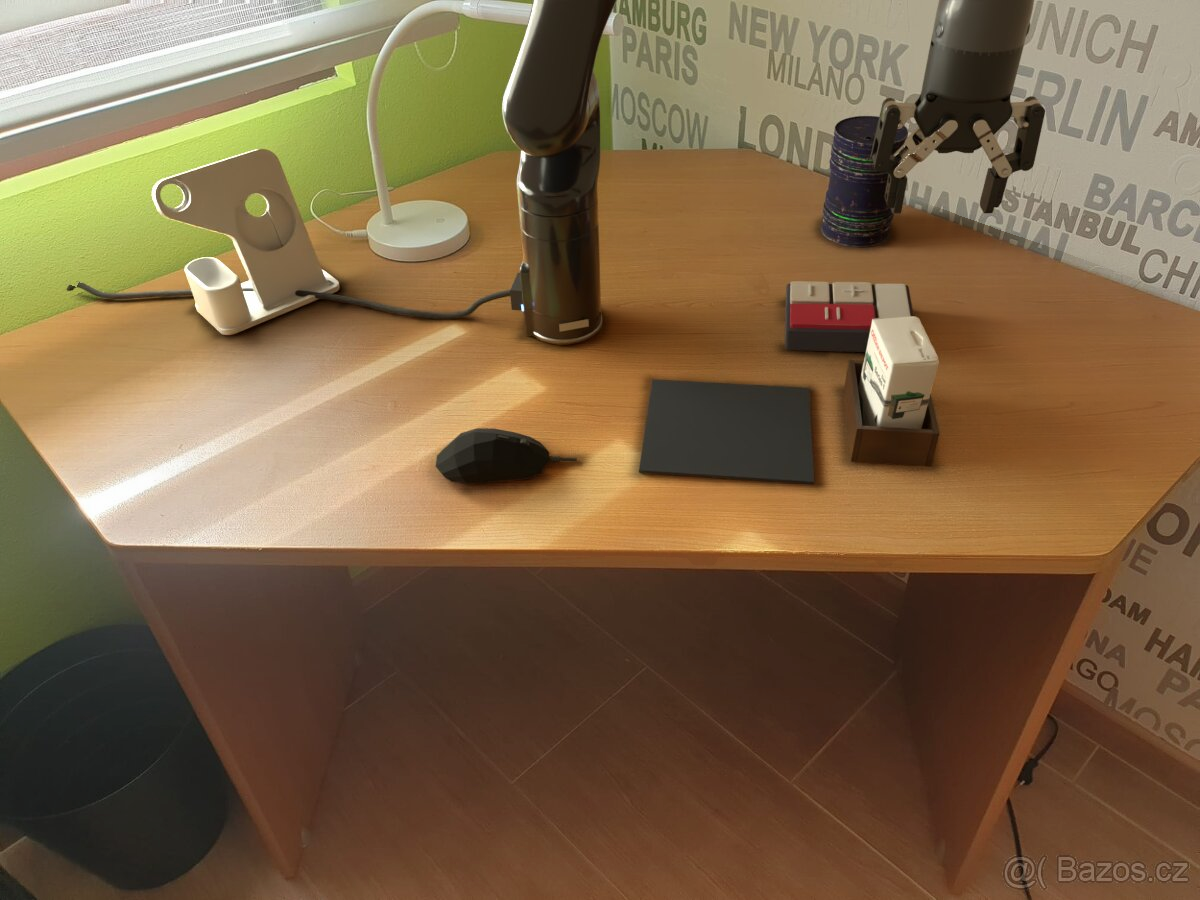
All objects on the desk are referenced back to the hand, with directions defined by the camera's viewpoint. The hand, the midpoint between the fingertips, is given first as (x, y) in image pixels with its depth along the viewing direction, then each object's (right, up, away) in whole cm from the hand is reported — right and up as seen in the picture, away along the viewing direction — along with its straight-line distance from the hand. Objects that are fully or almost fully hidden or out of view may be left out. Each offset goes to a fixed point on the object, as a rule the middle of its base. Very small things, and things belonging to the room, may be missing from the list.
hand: (939, 210), depth 91 cm
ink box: (-1, -21, +13) cm, 24 cm away
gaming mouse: (-42, -25, +10) cm, 50 cm away
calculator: (-2, -8, +27) cm, 29 cm away
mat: (-19, -21, +13) cm, 31 cm away
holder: (-1, -21, +13) cm, 24 cm away
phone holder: (-77, -3, +37) cm, 86 cm away
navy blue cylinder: (+4, +9, +46) cm, 48 cm away
